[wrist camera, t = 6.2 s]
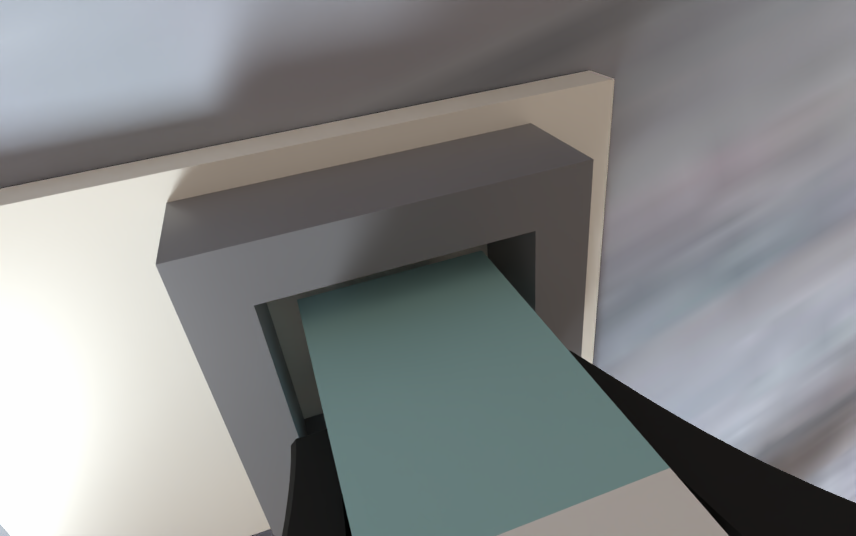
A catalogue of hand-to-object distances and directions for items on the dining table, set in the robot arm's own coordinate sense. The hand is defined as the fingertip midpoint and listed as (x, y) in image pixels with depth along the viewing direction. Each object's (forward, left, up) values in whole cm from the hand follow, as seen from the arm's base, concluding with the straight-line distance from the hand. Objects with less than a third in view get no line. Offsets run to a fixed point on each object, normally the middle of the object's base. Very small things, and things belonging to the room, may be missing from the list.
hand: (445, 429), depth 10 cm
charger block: (0, 0, -3) cm, 3 cm away
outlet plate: (-1, +2, -5) cm, 6 cm away
